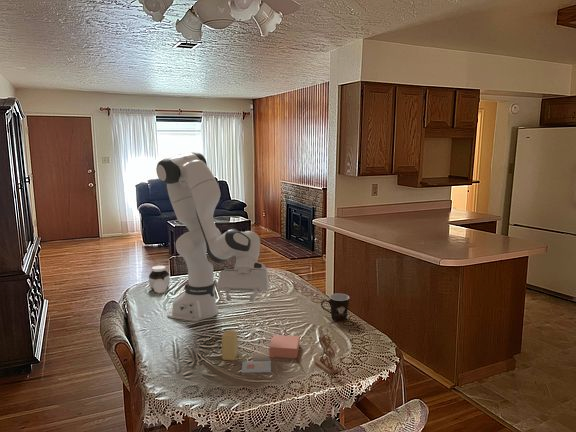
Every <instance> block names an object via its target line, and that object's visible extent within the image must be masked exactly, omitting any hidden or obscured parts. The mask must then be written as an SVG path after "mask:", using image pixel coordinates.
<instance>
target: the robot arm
mask: <svg viewBox="0 0 576 432" xmlns="http://www.w3.org/2000/svg"><path fill="white" fill-rule="evenodd" d="M155 169H156V175H157V178H158V179H159V181H161V182H162V183H163V184H166V189H167V195H168V197H169V201H170V204H171V205H172V206H171V207H172V210H173V211H174V213H175V214H174V215H175V216H176V220H177V222H179V223H181V224H183V225H184V226H185V227H186V228H187V230H188V231H187V232H184V233H183V234H181V235H180V236H179V237H178V238H177V239H176V241H175V249H176V252H177V253H178V255H179V256H181V257H182V258H183V259H184V261H185V264H186V267H187V276H188V277H187V279H188V281H187V282H186V284H184V286H183V290H184V291H183V292H182V293H180V295H178V296H177V297H176V298H175V299H174V301H173V303H172V307H171V308H170V309H169V310H168V311H167V314H166V315H167V318H170V319H176V320H183V321H184V320H186V321H192V322H199V321H202V320H205V319H210V318H213V317H215V316H217V315H218V314H219V308H218V305H217V300H216V296H215V295H216V287H217V289H218V290H219V291H221V292H225V295H226V296H225V301H227V302H231V301H232V295H231V294H230V292H253V294H252V295H250V296H249V302H255V299H256V297H257V296H258V295H259V293H260V292H267V291H268V290H269V285H270V284H269V282H270V279H269V277H268V274H269V273H268V269H267V267H266V265H265V264H263V263H260V262H258V261H259V260H258V258H259V256H260V251H261V238H260V236H259V235H258V234H257V232H255V231H251V230H245V231H240V230H238V229H235V228H230V229H228V230H227V231H225V232H224V233H221V231H220V230H219V228H218V227H217V226H216V223H215V220H214V219H215V218H214V213H215V210H216V207H217V206H218V203H219V201H220V198H221V190H220V185H219V183H218V181H217V180H216V178H215V176H214V175H213V173H212V171H211V170H210V167H209V166H208V162H207V159H206V158H205V156H204V155H203V154H202V153H201V152H190V153H182V154H178V155H175V156H174V155H173V156H171V157H168V158H163V159H162V160H160V161H158V163H157V164H156V168H155ZM207 255H208V256H207ZM233 256H234V257H235V258H236V259H235V264H234V268H223V269H222V270H220V272H219V277H218V280H217V284H216V283H215V281H214V280H215V279H214V278H215V277H214V265H213V263H211V262H210V261H209V260H208V257H209V259H211V260H212V261H213V262H215V263H217V264H223V263H225V262H226V261H228V260H230V259H231V258H232V257H233ZM215 284H216V285H215Z"/></svg>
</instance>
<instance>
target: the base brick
mask: <svg viewBox="0 0 576 432" xmlns="http://www.w3.org/2000/svg"><path fill="white" fill-rule="evenodd" d="M268 347H269V348H268V351H269V353H268V354H269V355H268V356H269V357H271V358H288V359H297V358H298V354H299V348H300V336H299V335H284V334H283V335H281V334H280V335H279V334H273V335H272V339H271V341H270V344H269V346H268Z"/></svg>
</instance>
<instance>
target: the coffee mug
mask: <svg viewBox="0 0 576 432" xmlns="http://www.w3.org/2000/svg"><path fill="white" fill-rule="evenodd" d="M325 302H327V303H328V304H329V306H330V310H328V309H327V308H325V307H324V306H323V304H324V303H325ZM349 302H350V296H349V295H348V294H345V293H332V294H330V295H329V300H328V299H325V300H323V301H321V303H320V306H321V308H322V309H323V310H324V311H326V312H328V313H329V314H330V315H331V320H332V321H333V322H336V323H337V322H338V323H339V322H341V323H342V322H345V321H347V317H348V310H349V304H350V303H349Z"/></svg>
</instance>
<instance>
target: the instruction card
mask: <svg viewBox="0 0 576 432" xmlns="http://www.w3.org/2000/svg"><path fill="white" fill-rule="evenodd" d="M241 364H242V365H241V371H240V373H241V374H245V373H246V374H247V373H249V374H252V373H253V374H255V373H271V372H272V360H261V361H260V360H259V361H258V360H257V361H255V360H253V361H252V360H251V361H250V360H249V361H242V363H241Z"/></svg>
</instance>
